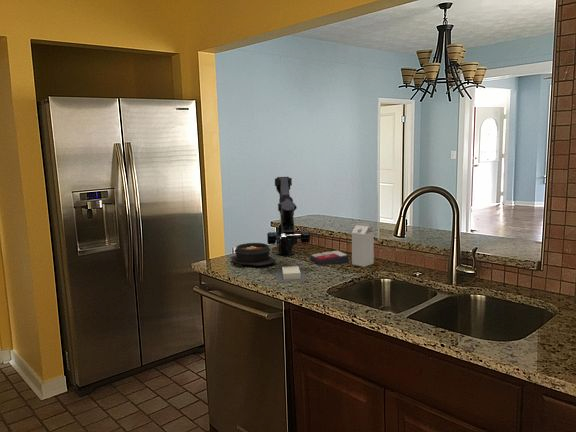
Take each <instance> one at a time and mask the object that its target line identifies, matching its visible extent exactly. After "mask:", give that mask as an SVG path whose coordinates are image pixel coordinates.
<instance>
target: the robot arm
mask: <svg viewBox="0 0 576 432" xmlns="http://www.w3.org/2000/svg"><path fill="white" fill-rule="evenodd" d="M292 180H293V179H292V177H289V176H277V177H275V178H274V187H276V188H275V190H276V192H277V193H278V195H279V200H278V202H279V203H277V211H278V212H279V215H280V224H279V225H278V228H277V231H274V232H273V231H272V232H271V231H270V232H268V233H267V234H266V235H267V245H275V244H278V253H276V255H277V256H283V257H288V256H291V255H295V252H293V249H294V246H296V245H298V240H300V242H301V243H302V244H308V243H310V242H311V231H309V230H301V231H300V233H298V234H297V233H296V230H295V220H294V215H295V211H296V209H297V205H296V203H295V202H294V200H293V198H292V197H291V195H290V190H291V186H293V181H292Z"/></svg>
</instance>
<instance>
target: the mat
mask: <svg viewBox="0 0 576 432" xmlns="http://www.w3.org/2000/svg"><path fill="white" fill-rule="evenodd" d="M275 270H276V271H275V272H276V278H277V283H287V282H306V281H308V279H307V276H306V273H305V270H304V268H303V267H299V270H300V273H301V279H293V280H284V279H283V274H282V268H276V269H275Z"/></svg>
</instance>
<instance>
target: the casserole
mask: <svg viewBox="0 0 576 432" xmlns="http://www.w3.org/2000/svg"><path fill="white" fill-rule="evenodd" d="M270 252H271V248H270V246H269V244H268V243H263V242H261V243H260V242H247V243H243V244H238V245H237V246H236V247H235V250H234V254H235V255H232V256H231V257H230V260H231V261H233V262H234V263H236V264H239V265H242V266H246V267H247V266H249V267H252V266H253V267H257V266H267V265H271V264H274V263H276V262H277V259H274V258H273V257H272V256H270Z"/></svg>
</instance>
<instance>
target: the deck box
mask: <svg viewBox="0 0 576 432" xmlns="http://www.w3.org/2000/svg"><path fill="white" fill-rule="evenodd" d="M299 268H300V267H299V266H297V265H296V266H294V265H293V266H291V265H290V266H281V269H282V274H283V279H284V280H293V279H301V273H300V270H299Z"/></svg>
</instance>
